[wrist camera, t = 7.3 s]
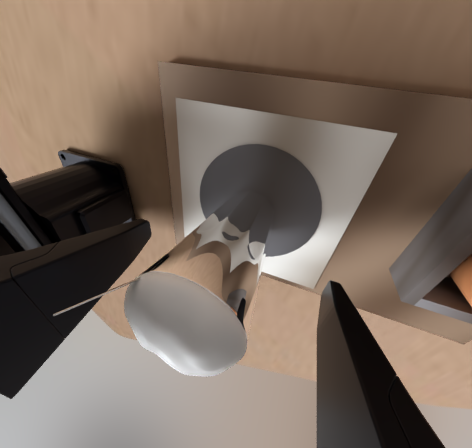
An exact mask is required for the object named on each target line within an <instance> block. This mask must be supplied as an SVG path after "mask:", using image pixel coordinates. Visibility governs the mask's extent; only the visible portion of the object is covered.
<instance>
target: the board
mask: <svg viewBox="0 0 472 448" xmlns="http://www.w3.org/2000/svg"><path fill="white" fill-rule="evenodd" d="M158 69H159V79H160V89H161V99H162V109H163V119H164V129H165V139H166V149H167V159H168V169H169V179H170V189H171V199H172V209H173V219H174V229H175V239H176V244H178V243H179V242H180V241H181V240H183V239H184V238H185V237H186V236H187V235H189V234H190V233H191V232H192V231H193V230H194V229H196V228H197V227H198V226H199V225H200V224H201V223H202V222H204V221H205V220H206V219H207V218H208V217H209V216H210V215H211V214H212V213H214V212H215V211H216V210H217V209H218V208H219V207H220V206H221V205H223V204H224V203H225V202H226V201H227V200H228V199H229V198H230V197H232V196H233V195H234V194H235V193H237V192H243V191H248V190H252V191H254V192H256V193H259V194H261V195H263V196H265V197H266V198H267V199H268V201H269V202H270V204H271V205H272V207H273V208H274V210H275V211H274V220H273V227H272V231H271V235H270V239H269V244H268V248H267V252H266V256H265V260H264V264H263V268H262V272H261V275H263V276H266V277H269V278H272V279H275V280H278V281H281V282H284V283H286V284H289V285H292V286H295V287H298V288H301V289H304V290H307V291H310V292H313V293H316V294H318V295H322V292H323V290H324V288H325V287H326V285H327V283H328V282H329V281H330V280H332V281H335V282H338V283H340V284H341V285H342V287H343V288H344V290H345V291H346V293H347V295H348V296H349V298H350V300H351V301H352V303H353V304H354V306H355V307H356V308H359V309H362V310H365V311H368V312H371V313H374V314H377V315H380V316H382V317H385V318H388V319H391V320H394V321H397V322H400V323H403V324H406V325H409V326H412V327H414V328H417V329H420V330H423V331H426V332H429V333H432V334H435V335H438V336H441V337H443V338H446V339H449V340H452V341H455V342H458V343H461V344H465V343H467V342H469V341H471V340H472V307H471V305H470V304H469V302H468V301H467V300H466V298H465V297H464V295H463V294H462V292H461V291H460V289H459V288H458V286H457V285H456V283H455V282H454V281H453V279H452V278H451V276H450V275H449V274H450V273H451V272H452V271H453V270H454V269H455V268H456V267H457V266H459V265H460V264H461V263H462V262H463V261H464V260H465V259H466V258H467V257H469V256H470V255H471V254H472V99H470V98H461V97H453V96H445V95H436V94H428V93H420V92H411V91H403V90H395V89H386V88H378V87H369V86H361V85H353V84H344V83H336V82H328V81H319V80H311V79H303V78H294V77H286V76H277V75H269V74H261V73H252V72H244V71H236V70H227V69H219V68H211V67H202V66H194V65H185V64H177V63H169V62H160V61H158Z"/></svg>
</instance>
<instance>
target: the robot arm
mask: <svg viewBox="0 0 472 448" xmlns="http://www.w3.org/2000/svg"><path fill="white" fill-rule="evenodd" d="M58 155H59V158H60V160H61V162H62V165H63V167H62V168H59V169H55V170H52V171H49V172H45V173H42V174H39V175H36V176H32V177H29V178H26V179H22V180H19V181H16V182H13V183H9V182H8V180H7V179H6V178H7V176H6V174H5V173H4V172H3V170H2V169H1V168H0V394H2V395H4V396H6V397H8V398H10V399H12V398H13V397H14V396H15V395H16V394H17V393H18V392H19V391H20V390H21V389H22V387H23V386H24V385H25V384H26V383H27V382H28V380H29V379H30V378H31V377H32V376H33V375H34V374H35V373H36V371H37V370H38V369H39V368H40V367H41V366H42V365H43V363H44V362H45V361H46V360H47V359H48V358H49V357H50V355H51V354H52V353H53V352H54V351H55V350H56V349H57V347H58V346H59V345H60V344H61V343H62V342H63V340H64V339H65V338H66V337H67V336H68V335H69V334H70V333H71V331H72V330H73V329H74V328H75V327H76V326H77V324H78V323H79V322H80V321H81V320H82V319H83V318H84V316H86V314H87V313H88V312H89V311H90V310H91V309H92V308H93V306H94V305H95V304H96V303H97V302H98V301H99V300H100V298H101V297H102V296H103V295H102V296H100V297H98V298H95V299H93V300H91V301H88V302H86V303H84V304H81V305H79V306H77V307H74V308H72V309H70V310H67V311H65V312H63V313H60V314H58V315H56V316H53V317H49V316H50V315H52V314H54V313H57V312H59V311H61V310H64V309H66V308H68V307H71V306H73V305H76V304H78V303H80V302H83V301H85V300H87V299H90V298H92V297H94V296H97V295H99V294H102V293H104V292H106V291H107V290H108V289H109V288H110V287H111V286H112V285H113V284H114V283H115V281H116V280H117V279H118V278H119V277H120V276H121V275H122V273H123V272H124V271H125V270H126V269H127V268H128V267H129V265H130V264H131V263H132V262H133V261H134V259H135V258H136V257H137V255H138V254H139V253H140V251H141V250H142V248H143V247H144V246H145V244H146V243H147V241H148V240H149V239H150V237H151V228H150V223H149V221H147V220H144V219H138V220H135V216H134V211H133V207H132V203H131V199H130V195H129V190H128V186H127V182H126V178H125V174H124V170H123V168H122V166H121V165H119V164H117V163H113V162H110V161H106V160H102V159H98V158H94V157H90V156H87V155H83V154H79V153H75V152H71V151H68V150H62V151H59V152H58ZM317 448H445V447H444V445H443V444H442V442H441V441H440V439H439V438H438V437H437V435H436V434H435V432H434V431H433V429H432V428H431V426H430V425H429V423H428V422H427V421H426V419H425V418H424V416H423V415H422V413H421V412H420V410H419V409H418V407H417V405H416V404H415V402H414V401H413V399H412V398H411V396H410V395H409V393H408V391H407V390H406V388H405V387H404V385H403V383H402V382H401V380H400V379H399V377H398V376H396V372H395V371H394V369H393V367H392V366H391V364H390V363H389V361H388V359H387V358H386V356H385V355H384V353H383V351H382V350H381V348H380V346H379V345H378V343H377V342H376V340H375V338H374V337H373V335H372V333H371V332H370V330H369V329H368V327H367V325H366V324H365V322H364V321H363V319H362V317H361V316H360V314H359V312H358V311H357V309H356V308H355V306H354V304H353V303H352V301H351V300H350V298H349V296H348V295H347V293H346V291H345V290H344V288H343V287H342V285H341V284H340V283H338V282H335V281H332V280H330V281H329V282H328V283H327V285H326V287H325V288H324V290H323V292H322V295H321V301H320V309H319V317H318V325H317Z"/></svg>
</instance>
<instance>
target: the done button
mask: <svg viewBox="0 0 472 448" xmlns="http://www.w3.org/2000/svg"><path fill="white" fill-rule="evenodd" d="M449 275H450V276H451V278H452V279H453V281H454V282H455V283H456V285H457V286H458V288H459V289H460V291H461V292H462V294H463V295H464V297H465V298H466V300H467V301H468V302H469V304H470V305H471V307H472V254H471V255H470V256H469V257H467V258H466V259H465V260H464V261H463V262H462V263H461V264H460V265H459V266H457V267H456V268H455V269H454V270H453V271H452V272H451V273H450V274H449Z"/></svg>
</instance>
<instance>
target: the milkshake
mask: <svg viewBox="0 0 472 448" xmlns="http://www.w3.org/2000/svg"><path fill="white" fill-rule="evenodd" d="M274 211H275V210H274V208H273V207H272V205H271V204H270V202H269V201H268V199H267V198H266V197H265V196H263V195H261V194H259V193H256V192H254V191H252V190H248V191H243V192H237V193H235V194H234V195H233V196H232V197H230V198H229V199H228V200H227V201H226V202H225V203H224V204H223V205H221V206H220V207H219V208H218V209H217V210H216V211H215V212H214V213H212V214H211V215H210V216H209V217H208V218H207V219H206V220H205V221H204V222H202V223H201V224H200V225H199V226H198V227H197V228H196V229H194V230H193V231H192V232H191V233H190V234H189V235H187V236H186V237H185V238H184V239H183V240H181V241H180V242H179V243H178V244H176V245H175V246H174V247H173V248H172V249H170V250H169V251H168V252H167V253H166V254H164V255H163V256H162V257H161V258H159V259H158V260H157V261H156V262H155V263H153V264H152V265H151V266H150V267H149V268H147V269H146V270H145V271H144V272H142V273H141V274H140V275H139V276H138V277H136V278H135V279H134V280H132V281H130V282H128V283H125V284H123V285H120V286H118V287H116V288H113V289H111V290H109V291H106V292H104V293H102V294H99V295H97V296H94V297H92V298H90V299H87V300H85V301H83V302H80V303H78V304H76V305H73V306H71V307H68V308H66V309H64V310H61V311H59V312H57V313H54V314H52V315H50V316H49V317H53V316H56V315H58V314H60V313H63V312H65V311H67V310H70V309H72V308H74V307H77V306H79V305H81V304H84V303H86V302H88V301H91V300H93V299H95V298H98V297H100V296H102V295H105V294H107V293H109V292H112V291H114V290H116V289H119V288H121V287H123V286H126V285H128V284H130V283H131V284H130V285H129V287H128V288H127V291H126V295H125V301H124V311H125V316H126V318H127V320H128V322H129V324H130V326H131V328H132V330H133V332H134V334H135V336H136V338H137V340H138V342H139V344H140V345H141V346H142V347H143V348H145V349H147V350H149V351H151V352H153V353H155V354H156V355H158V356H159V357H160V358H161V359H162V360H163V361H165V362H166V363H167V364H168V365H169V366H171V367H172V368H174V369H175V370H177V371H178V372H180V373H182V374H185V375H191V376H214V375H218V374H220V373H222V372H224V371H226V370H227V369H229V368H230V367H232V366H233V365H234V364H236V363H237V362H238V361H239V360H240V359H241V358H242V357H243V356H244V354H245V352H246V348H247V341H248V337H249V332H250V327H251V322H252V317H253V312H254V307H255V302H256V297H257V292H258V287H259V281H260V276H261V272H262V268H263V264H264V260H265V256H266V252H267V248H268V244H269V239H270V235H271V231H272V227H273V220H274Z"/></svg>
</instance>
